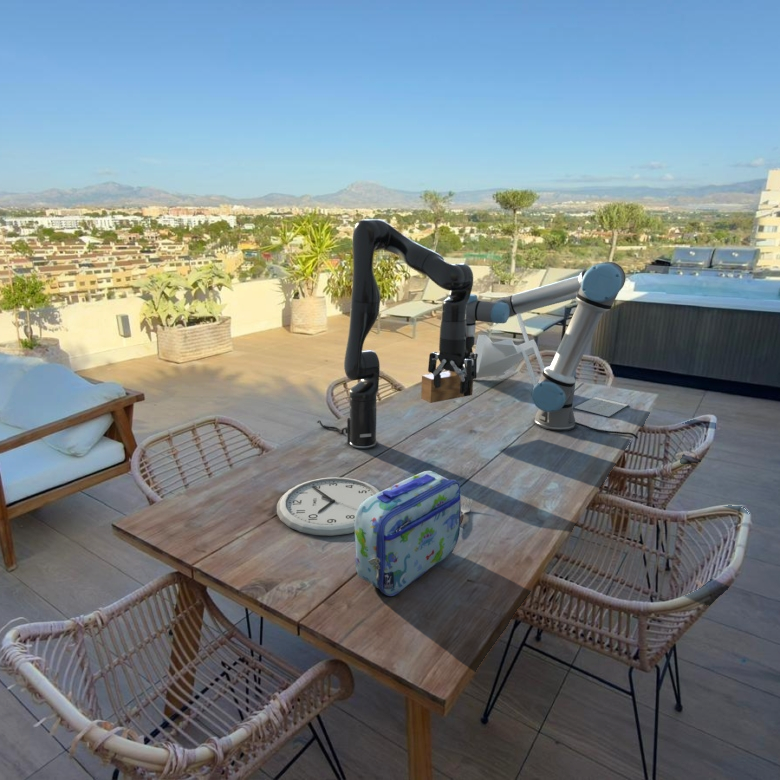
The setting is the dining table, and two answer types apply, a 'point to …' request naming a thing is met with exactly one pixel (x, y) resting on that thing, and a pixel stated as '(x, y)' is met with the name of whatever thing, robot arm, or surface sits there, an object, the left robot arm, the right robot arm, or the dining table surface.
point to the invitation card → (601, 406)
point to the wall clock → (324, 505)
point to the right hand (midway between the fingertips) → (461, 392)
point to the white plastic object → (505, 355)
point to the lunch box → (406, 530)
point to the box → (442, 387)
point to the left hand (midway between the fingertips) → (450, 390)
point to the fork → (465, 509)
